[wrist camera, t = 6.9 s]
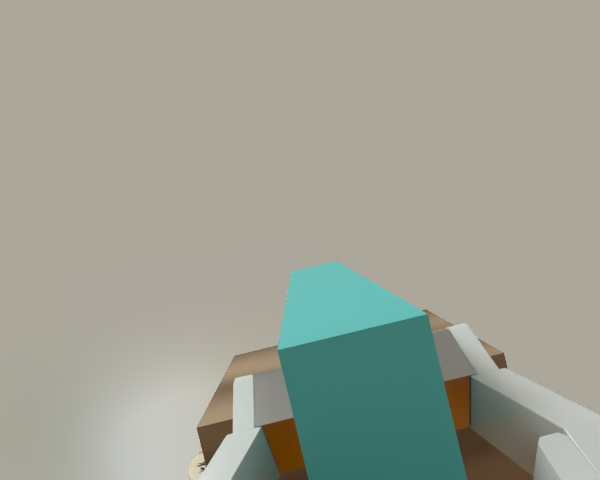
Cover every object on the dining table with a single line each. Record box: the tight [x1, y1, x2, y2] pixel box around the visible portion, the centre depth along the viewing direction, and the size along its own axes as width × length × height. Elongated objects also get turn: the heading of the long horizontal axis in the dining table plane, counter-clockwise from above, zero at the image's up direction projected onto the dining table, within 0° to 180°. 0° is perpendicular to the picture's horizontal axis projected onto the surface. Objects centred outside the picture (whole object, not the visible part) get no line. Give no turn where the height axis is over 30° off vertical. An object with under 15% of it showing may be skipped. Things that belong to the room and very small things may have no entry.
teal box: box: [277, 261, 467, 480], centre depth 18 cm, size 20×3×4 cm, turn 1°
